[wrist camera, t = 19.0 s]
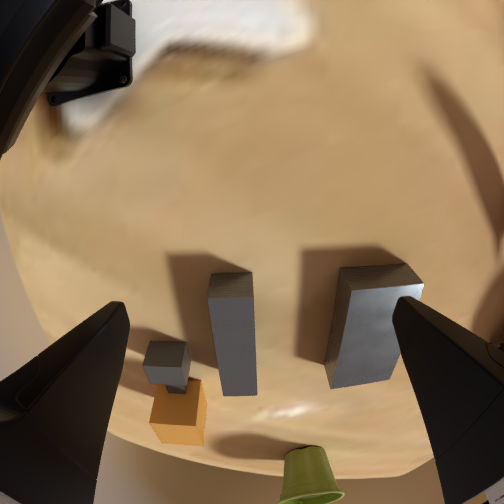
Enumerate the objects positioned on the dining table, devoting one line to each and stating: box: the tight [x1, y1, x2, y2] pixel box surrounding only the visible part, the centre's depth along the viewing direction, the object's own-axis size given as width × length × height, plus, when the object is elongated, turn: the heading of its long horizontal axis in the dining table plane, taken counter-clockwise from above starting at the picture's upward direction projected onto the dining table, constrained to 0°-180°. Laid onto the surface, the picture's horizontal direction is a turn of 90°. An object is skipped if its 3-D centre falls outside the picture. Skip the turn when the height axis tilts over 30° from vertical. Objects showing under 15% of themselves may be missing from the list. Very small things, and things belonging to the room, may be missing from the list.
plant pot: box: [277, 446, 344, 504], centre depth 33 cm, size 9×9×9 cm
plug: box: [142, 341, 207, 446], centre depth 25 cm, size 4×10×6 cm, turn 2°
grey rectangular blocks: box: [207, 264, 424, 396], centre depth 23 cm, size 16×11×3 cm
